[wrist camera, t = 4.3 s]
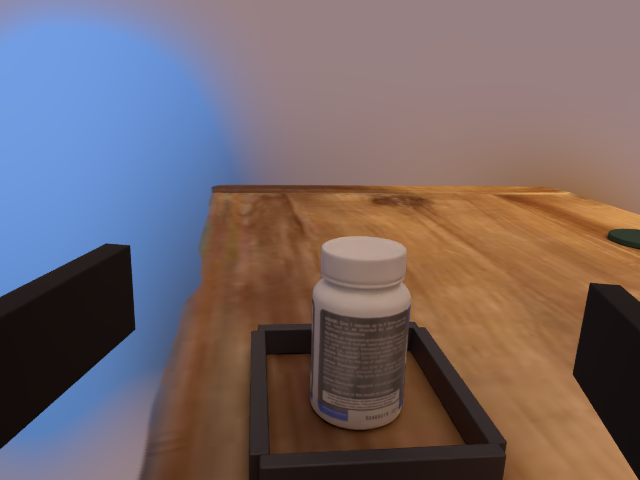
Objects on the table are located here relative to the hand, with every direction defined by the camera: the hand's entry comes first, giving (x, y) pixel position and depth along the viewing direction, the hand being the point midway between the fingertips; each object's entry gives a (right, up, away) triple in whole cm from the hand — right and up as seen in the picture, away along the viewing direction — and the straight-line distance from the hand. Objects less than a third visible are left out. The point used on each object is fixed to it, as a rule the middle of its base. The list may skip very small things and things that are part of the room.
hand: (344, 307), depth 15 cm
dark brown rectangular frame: (+1, -6, +12) cm, 13 cm away
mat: (+37, +2, +45) cm, 58 cm away
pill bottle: (+1, -7, +12) cm, 14 cm away
